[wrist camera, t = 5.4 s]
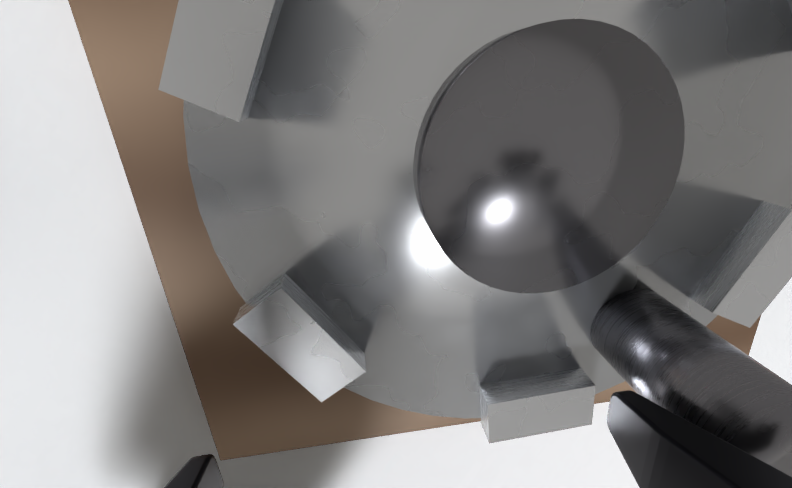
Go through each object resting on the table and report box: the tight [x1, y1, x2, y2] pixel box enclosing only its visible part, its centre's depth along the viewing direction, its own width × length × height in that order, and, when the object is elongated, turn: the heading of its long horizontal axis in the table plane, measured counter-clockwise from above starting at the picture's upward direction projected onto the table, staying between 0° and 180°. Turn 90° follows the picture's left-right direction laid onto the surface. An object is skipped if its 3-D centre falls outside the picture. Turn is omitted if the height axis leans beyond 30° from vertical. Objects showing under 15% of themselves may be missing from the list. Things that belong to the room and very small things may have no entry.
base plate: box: [68, 0, 761, 460], centre depth 13 cm, size 21×21×2 cm
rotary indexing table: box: [158, 0, 792, 477], centre depth 9 cm, size 16×16×6 cm
